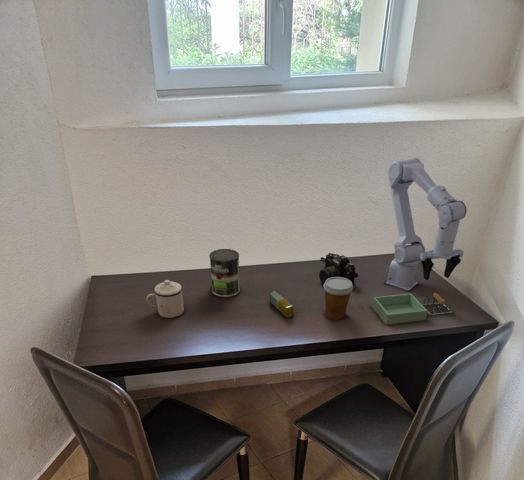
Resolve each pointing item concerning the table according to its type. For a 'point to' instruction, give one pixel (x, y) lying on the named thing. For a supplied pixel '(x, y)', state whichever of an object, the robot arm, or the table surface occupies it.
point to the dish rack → (438, 303)
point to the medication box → (281, 304)
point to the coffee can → (225, 272)
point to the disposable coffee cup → (337, 296)
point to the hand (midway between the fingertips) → (436, 277)
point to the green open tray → (399, 308)
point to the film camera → (337, 268)
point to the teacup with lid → (168, 299)
